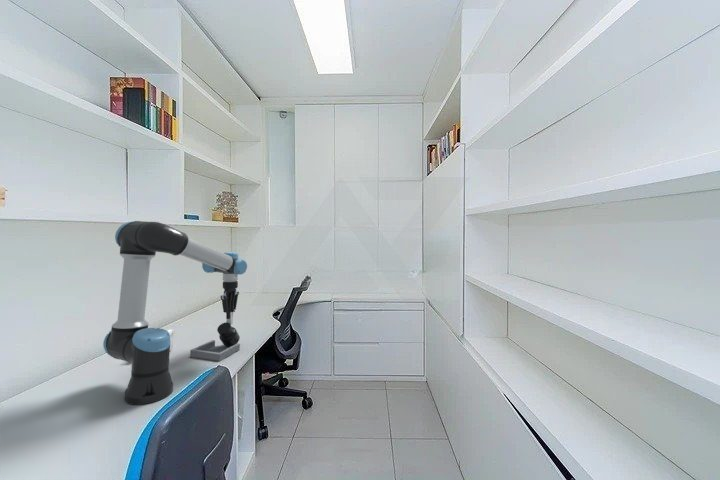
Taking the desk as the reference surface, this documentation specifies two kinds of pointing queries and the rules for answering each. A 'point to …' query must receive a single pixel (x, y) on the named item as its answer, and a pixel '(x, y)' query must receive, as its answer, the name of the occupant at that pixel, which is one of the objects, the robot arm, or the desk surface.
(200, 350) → the tray
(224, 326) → the ink bottle
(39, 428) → the desk surface
